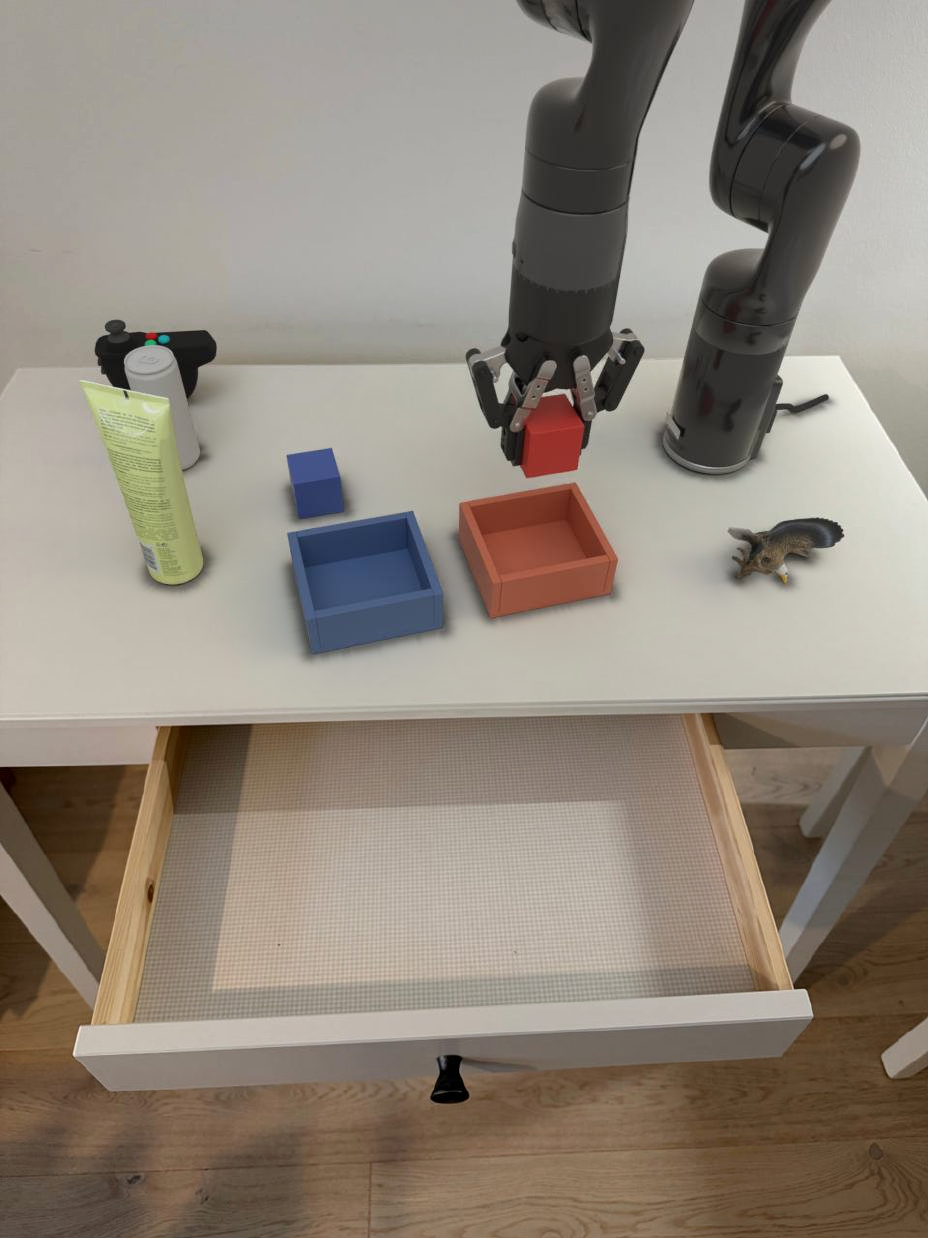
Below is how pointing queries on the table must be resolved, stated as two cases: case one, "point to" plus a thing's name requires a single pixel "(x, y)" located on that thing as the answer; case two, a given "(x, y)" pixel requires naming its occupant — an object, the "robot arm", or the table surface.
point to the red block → (552, 438)
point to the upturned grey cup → (164, 393)
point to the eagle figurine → (784, 543)
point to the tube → (149, 477)
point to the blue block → (315, 483)
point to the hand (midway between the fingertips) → (543, 454)
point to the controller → (184, 345)
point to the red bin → (535, 549)
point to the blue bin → (365, 581)
